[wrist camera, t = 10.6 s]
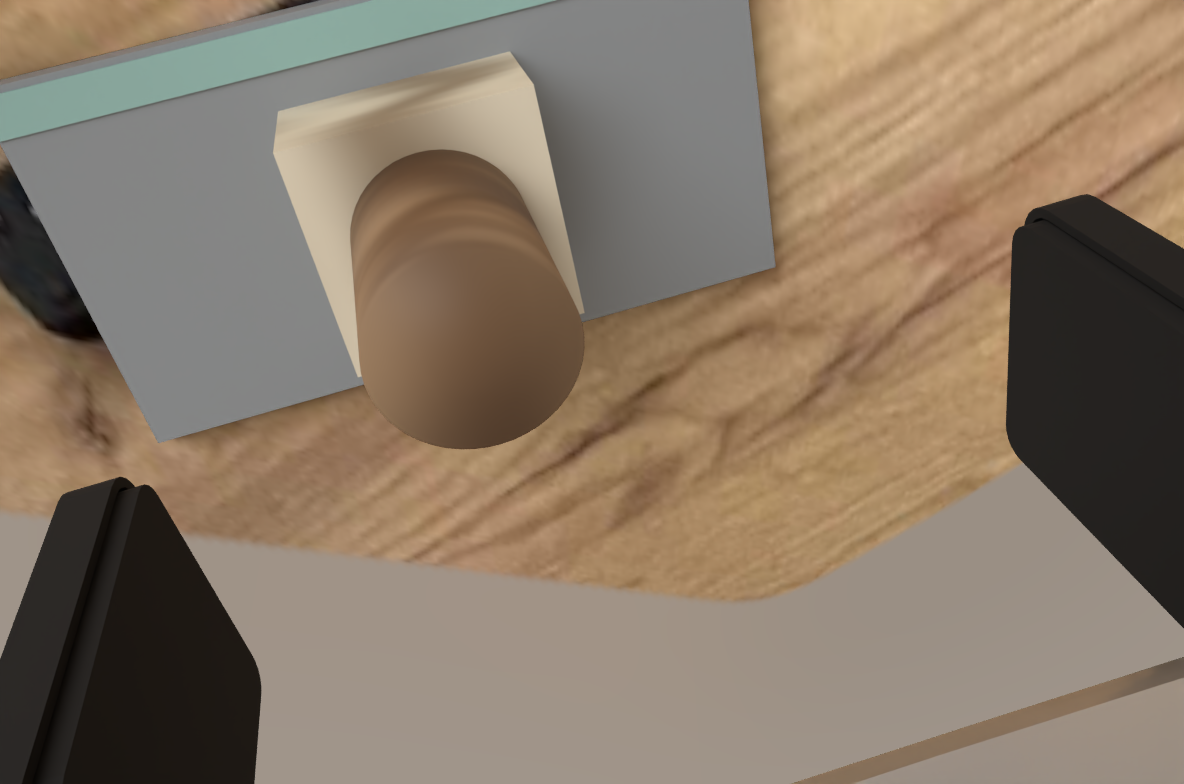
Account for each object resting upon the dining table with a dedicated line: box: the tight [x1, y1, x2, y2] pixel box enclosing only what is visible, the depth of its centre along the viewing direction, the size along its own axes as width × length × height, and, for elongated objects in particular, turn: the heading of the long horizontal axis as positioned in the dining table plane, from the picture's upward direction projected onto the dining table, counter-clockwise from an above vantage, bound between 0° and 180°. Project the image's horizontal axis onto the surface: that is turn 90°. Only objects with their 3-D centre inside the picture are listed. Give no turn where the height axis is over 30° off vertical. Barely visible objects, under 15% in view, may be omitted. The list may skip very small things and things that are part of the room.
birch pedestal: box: [273, 51, 585, 377], centre depth 30 cm, size 7×7×4 cm
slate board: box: [0, 0, 776, 443], centre depth 32 cm, size 22×12×1 cm, turn 102°
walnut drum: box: [350, 149, 584, 449], centre depth 25 cm, size 5×5×7 cm
